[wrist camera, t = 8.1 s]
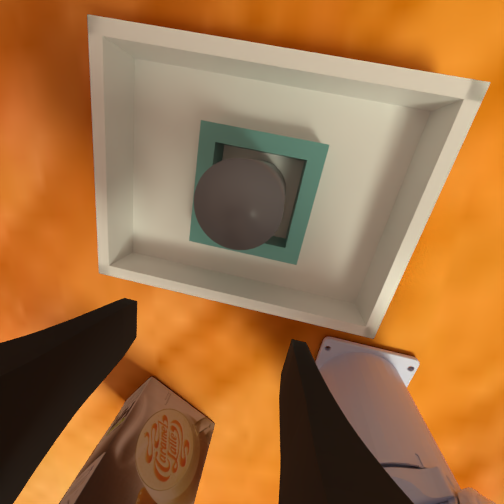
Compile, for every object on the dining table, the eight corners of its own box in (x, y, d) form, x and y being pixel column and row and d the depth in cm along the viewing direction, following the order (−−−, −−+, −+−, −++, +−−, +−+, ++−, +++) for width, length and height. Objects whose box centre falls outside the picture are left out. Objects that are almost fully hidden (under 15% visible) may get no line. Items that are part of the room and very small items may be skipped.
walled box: (359, 310, 20) (373, 338, 17) (128, 256, 21) (99, 273, 18) (444, 100, 15) (490, 82, 11) (128, 45, 16) (87, 14, 13)
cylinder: (294, 169, 16) (297, 174, 10) (275, 225, 18) (267, 261, 11) (237, 151, 16) (203, 145, 10) (223, 208, 18) (186, 234, 11)
